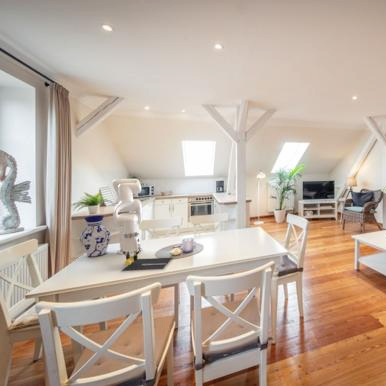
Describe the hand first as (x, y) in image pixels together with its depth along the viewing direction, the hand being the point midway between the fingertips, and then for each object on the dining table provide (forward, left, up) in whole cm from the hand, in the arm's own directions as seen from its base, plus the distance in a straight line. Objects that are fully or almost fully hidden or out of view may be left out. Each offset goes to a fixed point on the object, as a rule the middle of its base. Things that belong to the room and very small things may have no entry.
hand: (132, 260), depth 154 cm
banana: (0, 0, -1) cm, 1 cm away
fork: (+1, +15, -4) cm, 16 cm away
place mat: (-1, +10, -4) cm, 11 cm away
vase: (-25, -39, -4) cm, 46 cm away
